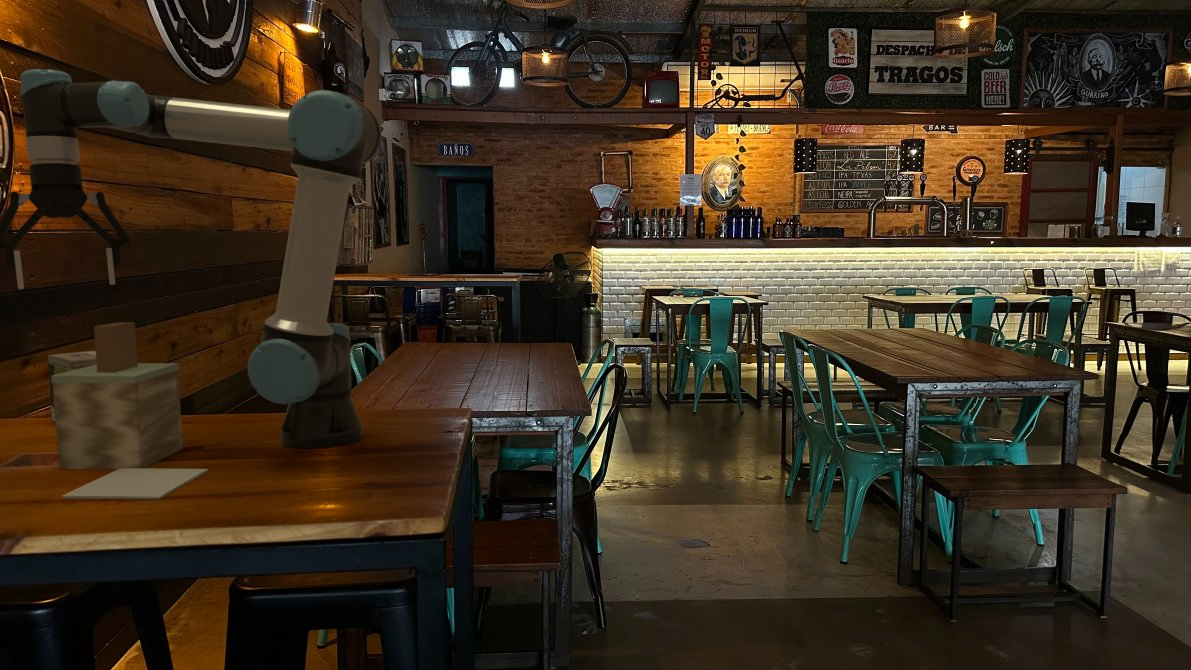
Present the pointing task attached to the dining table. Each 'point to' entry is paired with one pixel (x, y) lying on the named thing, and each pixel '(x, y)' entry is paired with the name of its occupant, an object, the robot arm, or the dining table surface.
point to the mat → (136, 484)
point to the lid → (115, 359)
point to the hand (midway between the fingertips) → (67, 286)
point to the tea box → (68, 367)
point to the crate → (117, 423)
